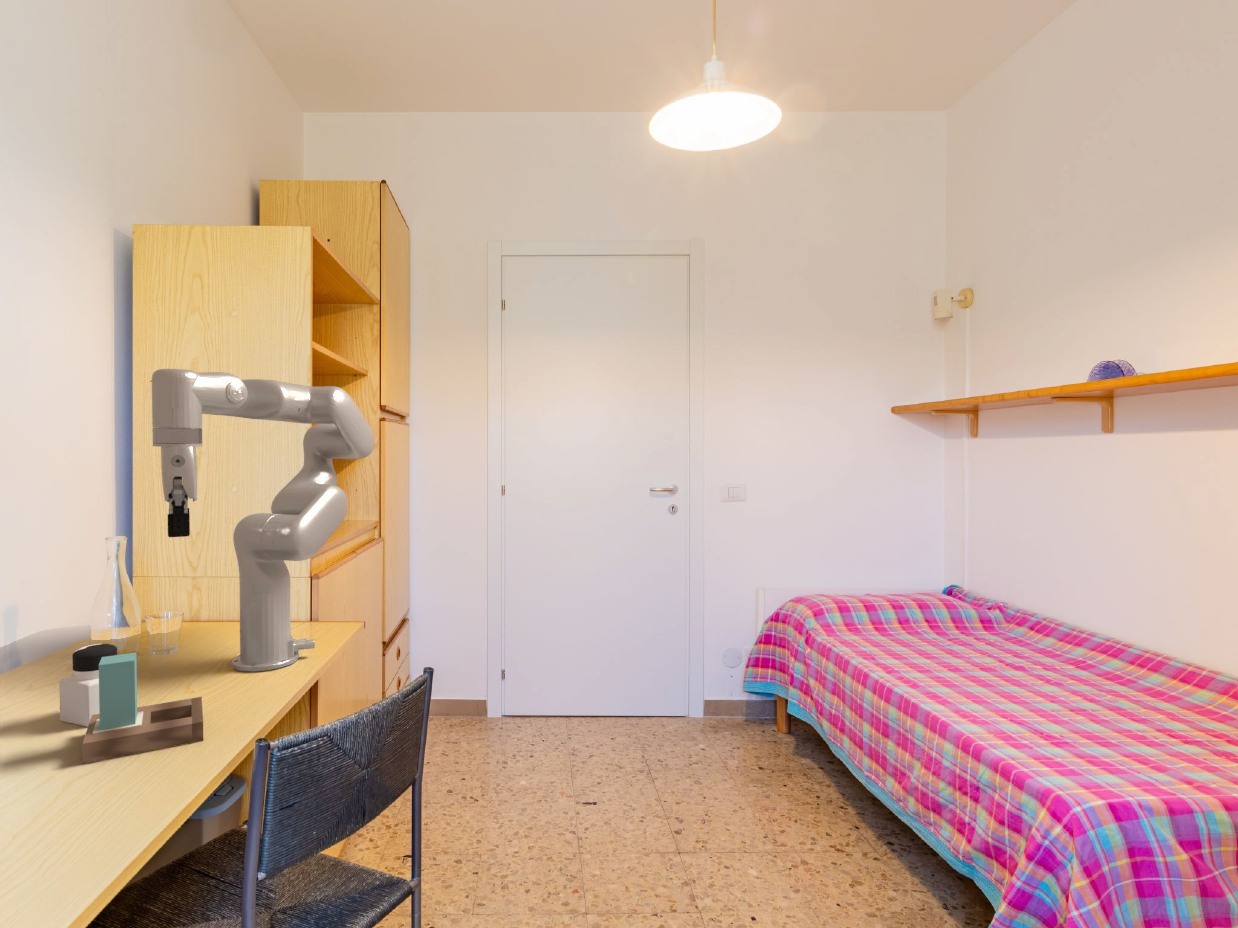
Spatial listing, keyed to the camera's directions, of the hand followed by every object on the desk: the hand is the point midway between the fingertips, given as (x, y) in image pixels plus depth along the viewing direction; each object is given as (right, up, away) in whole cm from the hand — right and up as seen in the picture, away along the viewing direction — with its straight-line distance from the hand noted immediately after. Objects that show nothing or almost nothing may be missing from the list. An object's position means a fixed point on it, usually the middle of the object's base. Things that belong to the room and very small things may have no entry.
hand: (179, 533), depth 123 cm
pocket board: (+5, -31, -15) cm, 35 cm away
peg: (+2, -28, -17) cm, 32 cm away
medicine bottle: (-9, -31, -7) cm, 33 cm away
